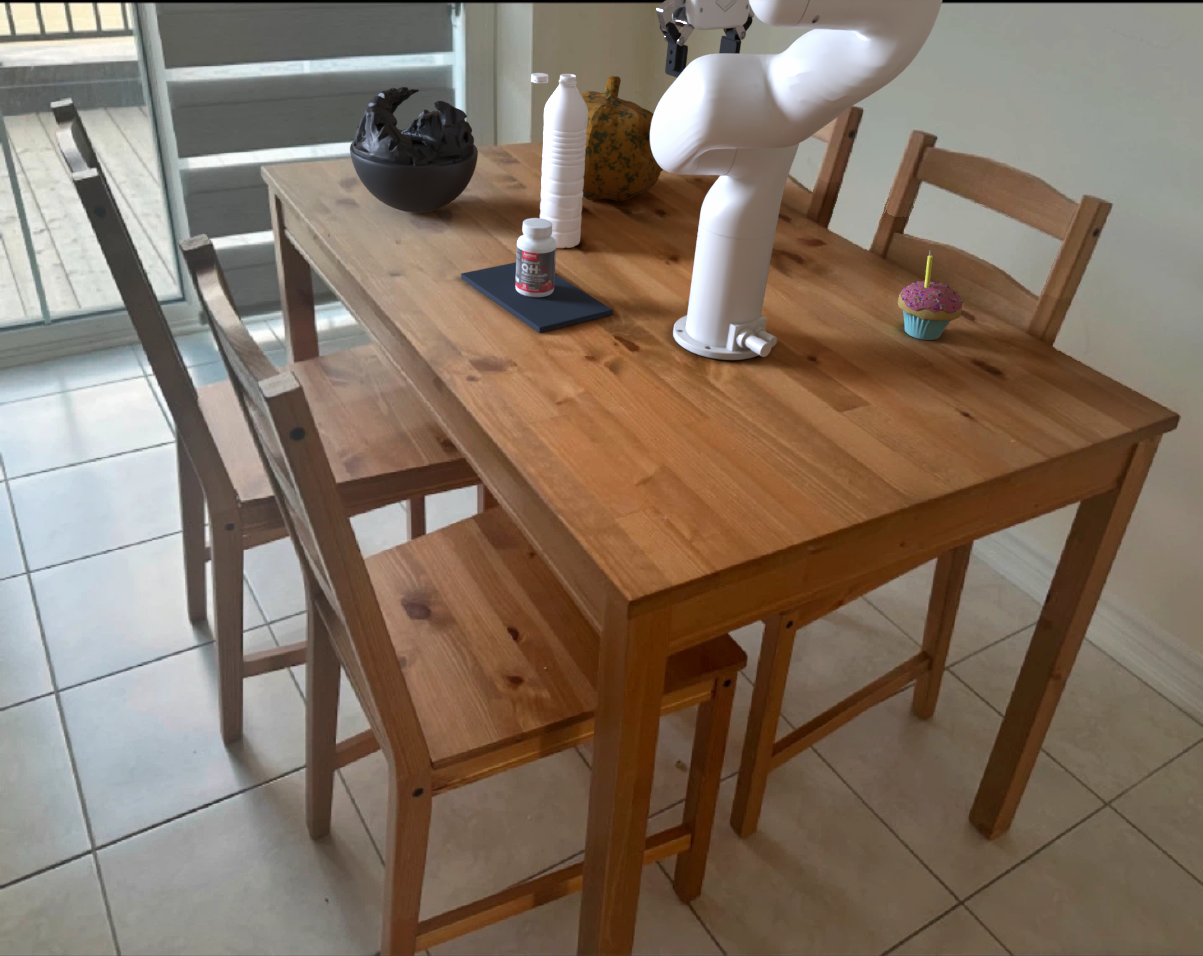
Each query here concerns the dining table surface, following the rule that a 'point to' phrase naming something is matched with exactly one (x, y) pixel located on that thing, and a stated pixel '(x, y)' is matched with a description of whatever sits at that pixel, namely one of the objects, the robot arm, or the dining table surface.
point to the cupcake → (928, 306)
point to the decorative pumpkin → (617, 146)
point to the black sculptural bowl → (413, 154)
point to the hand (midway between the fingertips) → (701, 72)
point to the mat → (537, 299)
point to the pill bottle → (536, 259)
